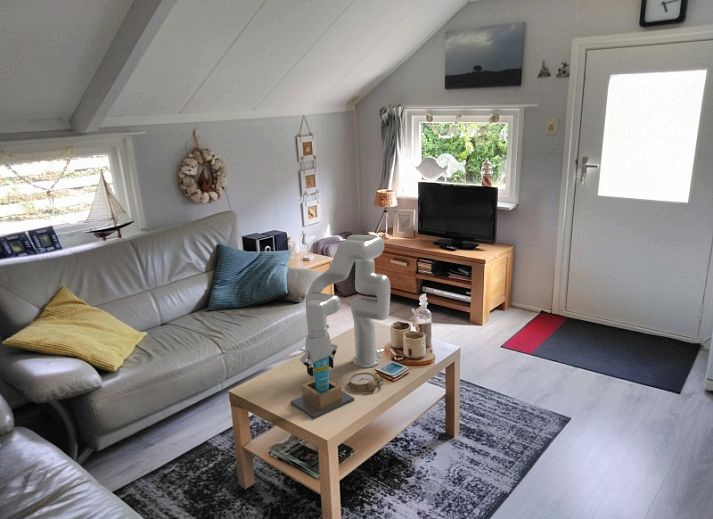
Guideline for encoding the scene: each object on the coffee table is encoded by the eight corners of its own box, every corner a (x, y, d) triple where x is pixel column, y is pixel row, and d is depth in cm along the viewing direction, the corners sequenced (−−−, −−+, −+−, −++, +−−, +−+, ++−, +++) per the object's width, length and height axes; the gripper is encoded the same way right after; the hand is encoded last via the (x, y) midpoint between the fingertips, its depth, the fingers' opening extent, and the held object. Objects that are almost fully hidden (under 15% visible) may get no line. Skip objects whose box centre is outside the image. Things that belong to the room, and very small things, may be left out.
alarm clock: (354, 371, 241) (386, 370, 234) (357, 381, 242) (388, 381, 235) (344, 383, 231) (376, 383, 224) (346, 394, 232) (379, 394, 225)
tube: (318, 404, 219) (314, 359, 213) (312, 399, 223) (308, 355, 217) (334, 398, 222) (331, 354, 217) (328, 393, 226) (325, 350, 221)
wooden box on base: (330, 386, 234) (329, 371, 232) (354, 400, 222) (353, 384, 220) (290, 403, 222) (289, 387, 220) (313, 419, 210) (312, 402, 208)
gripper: (329, 322, 222) (332, 360, 227) (293, 335, 212) (297, 375, 217) (340, 327, 216) (343, 366, 221) (304, 341, 206) (308, 382, 211)
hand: (320, 371), depth 219 cm, fingers open, 9 cm apart
